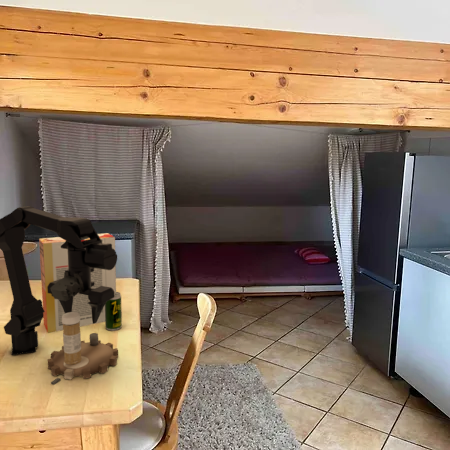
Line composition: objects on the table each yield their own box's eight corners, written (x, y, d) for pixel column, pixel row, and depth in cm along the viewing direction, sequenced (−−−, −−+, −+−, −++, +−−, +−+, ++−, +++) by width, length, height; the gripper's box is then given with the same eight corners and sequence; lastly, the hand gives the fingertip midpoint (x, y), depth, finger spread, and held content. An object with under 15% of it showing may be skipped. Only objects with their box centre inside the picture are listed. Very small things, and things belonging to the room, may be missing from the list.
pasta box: (110, 312, 154) (108, 233, 149) (116, 319, 148) (114, 237, 143) (43, 324, 142) (39, 238, 137) (47, 332, 136) (43, 243, 130)
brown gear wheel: (33, 376, 109) (32, 358, 108) (68, 344, 127) (68, 328, 127) (102, 382, 107) (101, 364, 106) (127, 348, 125) (127, 333, 125)
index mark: (57, 379, 108) (57, 377, 108) (60, 380, 108) (60, 378, 108) (50, 384, 106) (50, 382, 106) (54, 384, 106) (53, 383, 105)
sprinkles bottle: (76, 355, 116) (74, 309, 113) (84, 361, 113) (83, 314, 110) (60, 361, 113) (58, 314, 110) (68, 367, 109) (66, 319, 107)
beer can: (102, 328, 140) (101, 294, 137) (113, 323, 144) (112, 290, 142) (113, 332, 137) (113, 297, 135) (125, 326, 142) (124, 293, 140)
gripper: (29, 268, 108) (32, 324, 111) (85, 278, 101) (87, 338, 103) (61, 258, 118) (64, 310, 121) (114, 267, 111) (116, 322, 113)
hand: (81, 320), depth 114 cm, fingers open, 9 cm apart
